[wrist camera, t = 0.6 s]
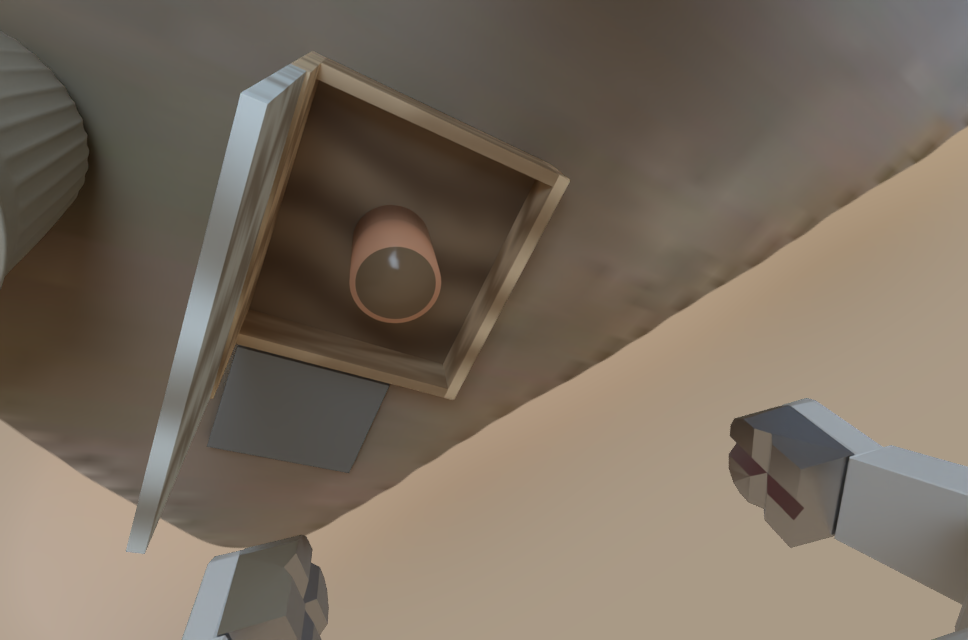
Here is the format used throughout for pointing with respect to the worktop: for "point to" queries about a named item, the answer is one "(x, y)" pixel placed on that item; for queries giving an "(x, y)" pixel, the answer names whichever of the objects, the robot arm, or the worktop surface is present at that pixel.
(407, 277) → the terracotta pot
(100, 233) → the worktop surface
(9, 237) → the canister
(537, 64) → the worktop surface
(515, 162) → the brown patterned open box
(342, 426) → the slate tile
